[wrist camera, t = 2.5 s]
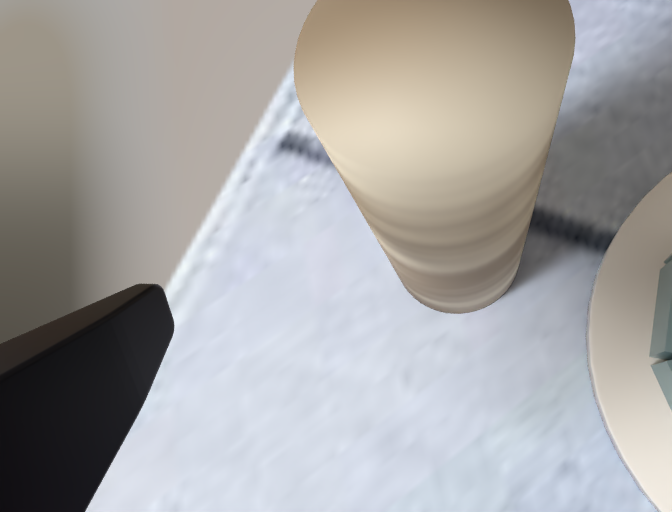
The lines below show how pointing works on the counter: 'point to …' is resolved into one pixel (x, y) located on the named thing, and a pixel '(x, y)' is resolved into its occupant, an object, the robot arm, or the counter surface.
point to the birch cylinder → (439, 128)
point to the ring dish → (637, 344)
